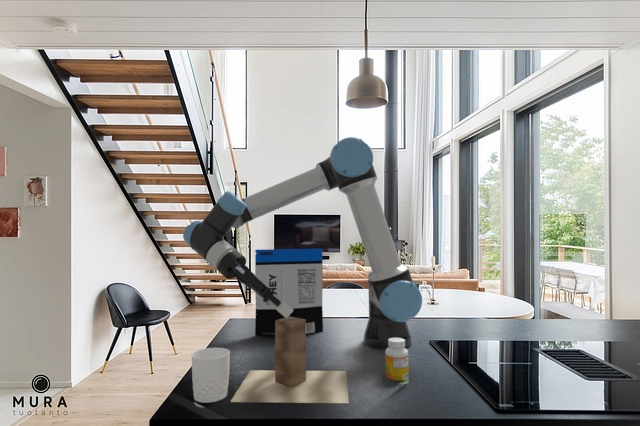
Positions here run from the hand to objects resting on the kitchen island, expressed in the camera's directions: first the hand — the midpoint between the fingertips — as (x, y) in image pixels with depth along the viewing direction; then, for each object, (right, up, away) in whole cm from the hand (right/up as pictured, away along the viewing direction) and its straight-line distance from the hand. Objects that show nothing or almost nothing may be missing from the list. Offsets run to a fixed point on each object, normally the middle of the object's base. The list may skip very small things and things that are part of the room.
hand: (289, 313), depth 96 cm
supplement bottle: (+26, -15, -5) cm, 30 cm away
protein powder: (-3, -18, +39) cm, 43 cm away
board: (+2, -14, -10) cm, 18 cm away
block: (+1, -13, -8) cm, 16 cm away
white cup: (-15, -14, -16) cm, 26 cm away
